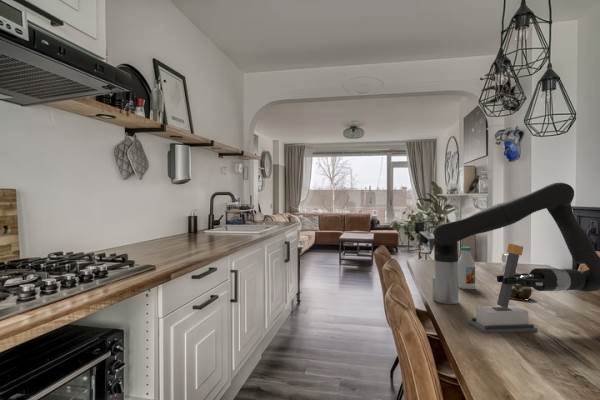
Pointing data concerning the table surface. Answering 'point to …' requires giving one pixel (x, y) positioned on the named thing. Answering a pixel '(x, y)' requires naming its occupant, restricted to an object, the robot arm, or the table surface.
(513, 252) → the lever
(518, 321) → the breaker base
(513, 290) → the skull
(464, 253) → the milk bottle
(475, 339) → the table surface
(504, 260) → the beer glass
